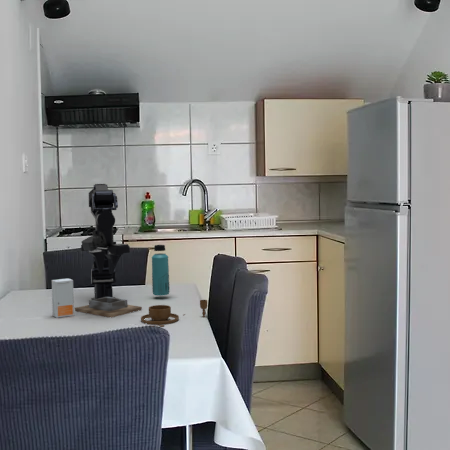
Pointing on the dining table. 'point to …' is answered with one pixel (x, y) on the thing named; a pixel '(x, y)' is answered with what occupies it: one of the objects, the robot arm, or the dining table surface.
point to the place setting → (166, 314)
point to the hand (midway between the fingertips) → (105, 272)
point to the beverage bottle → (160, 272)
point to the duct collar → (108, 307)
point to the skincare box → (62, 298)
